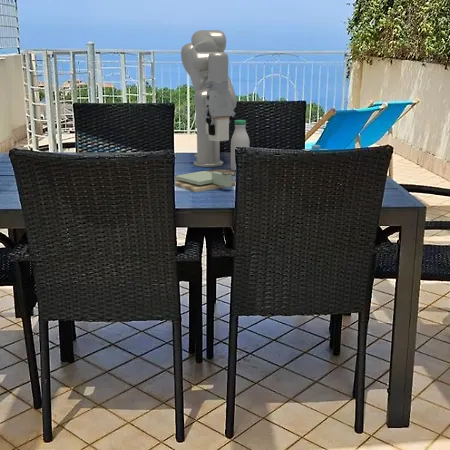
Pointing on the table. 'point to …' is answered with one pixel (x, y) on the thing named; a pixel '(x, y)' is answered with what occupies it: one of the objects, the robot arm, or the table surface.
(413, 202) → the table surface
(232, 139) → the milk bottle
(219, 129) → the box with copper trim
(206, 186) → the stand
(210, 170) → the mat
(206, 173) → the green piece
